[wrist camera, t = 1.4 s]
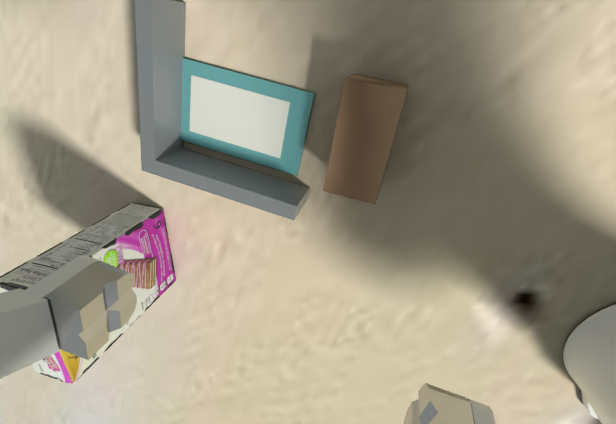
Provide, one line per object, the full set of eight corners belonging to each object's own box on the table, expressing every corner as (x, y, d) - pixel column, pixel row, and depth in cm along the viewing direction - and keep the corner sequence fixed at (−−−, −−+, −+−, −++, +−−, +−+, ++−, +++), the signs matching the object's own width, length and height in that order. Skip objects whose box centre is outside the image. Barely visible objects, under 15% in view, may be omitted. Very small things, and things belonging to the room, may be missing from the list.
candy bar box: (179, 280, 45) (74, 387, 31) (147, 273, 46) (32, 374, 32) (166, 206, 40) (33, 294, 26) (130, 200, 41) (-15, 281, 27)
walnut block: (407, 83, 28) (407, 91, 23) (380, 182, 32) (375, 204, 28) (354, 73, 28) (344, 78, 24) (334, 171, 33) (323, 190, 28)
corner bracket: (343, 41, 27) (332, 41, 23) (306, 200, 35) (293, 220, 31) (170, -1, 29) (134, -8, 26) (170, 156, 37) (141, 170, 33)
